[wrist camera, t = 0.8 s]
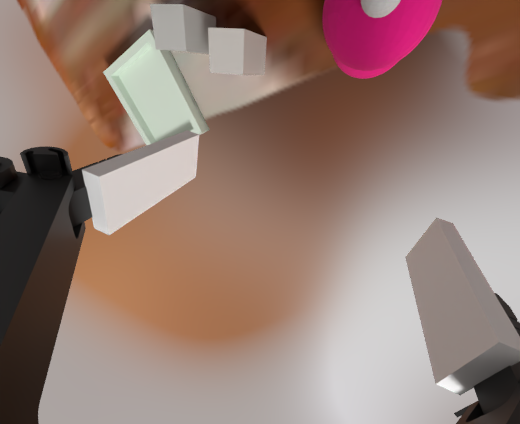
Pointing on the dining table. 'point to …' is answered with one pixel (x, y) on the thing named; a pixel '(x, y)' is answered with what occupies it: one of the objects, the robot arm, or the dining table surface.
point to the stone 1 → (181, 28)
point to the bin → (154, 92)
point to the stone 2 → (236, 51)
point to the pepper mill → (375, 32)
